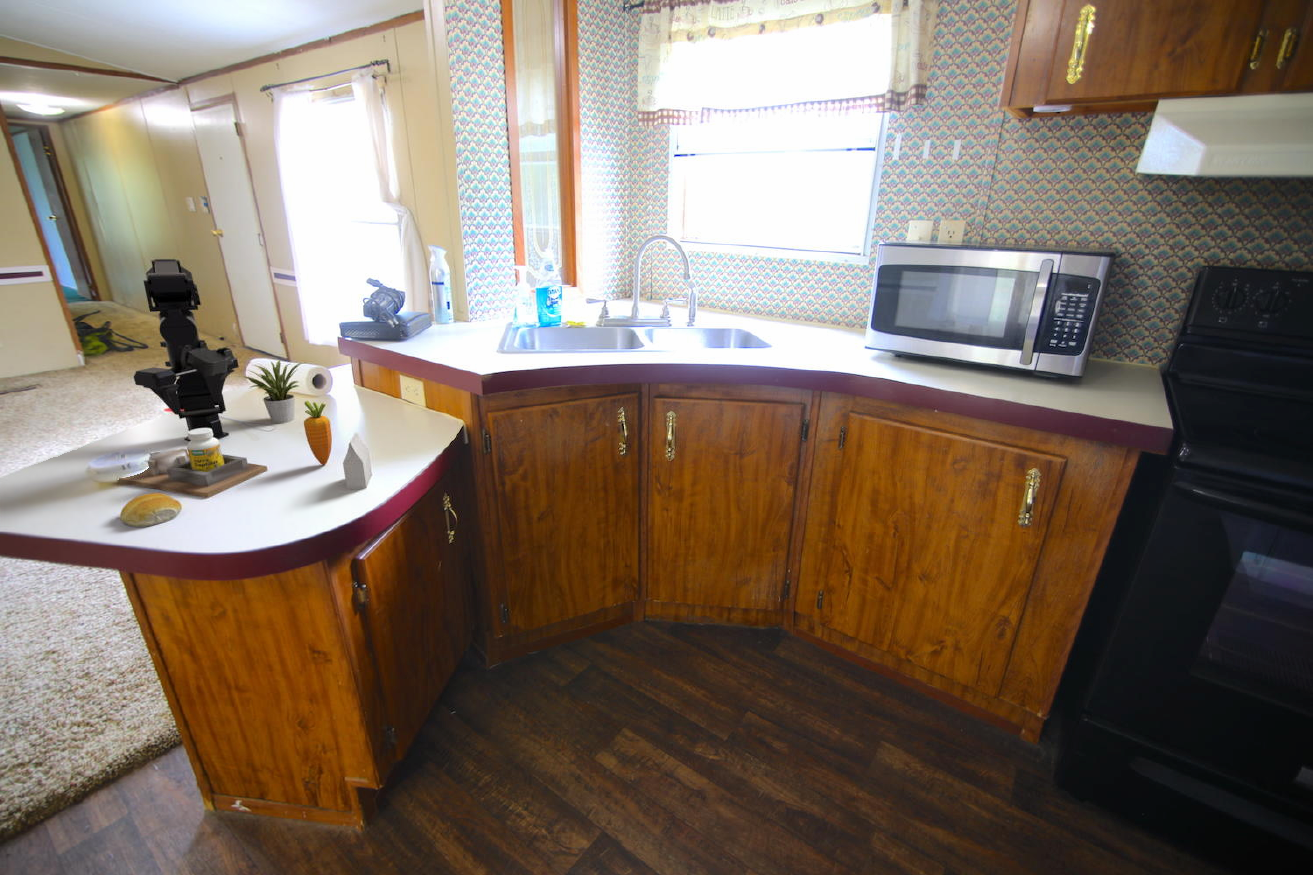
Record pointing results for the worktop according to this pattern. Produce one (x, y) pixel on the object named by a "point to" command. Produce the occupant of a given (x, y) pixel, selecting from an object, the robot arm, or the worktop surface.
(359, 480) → the gray house shaped block
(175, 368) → the robot arm
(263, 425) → the worktop surface
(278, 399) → the house plant
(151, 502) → the bread roll
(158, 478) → the carrier plate
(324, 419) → the carrot
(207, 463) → the supplement bottle
